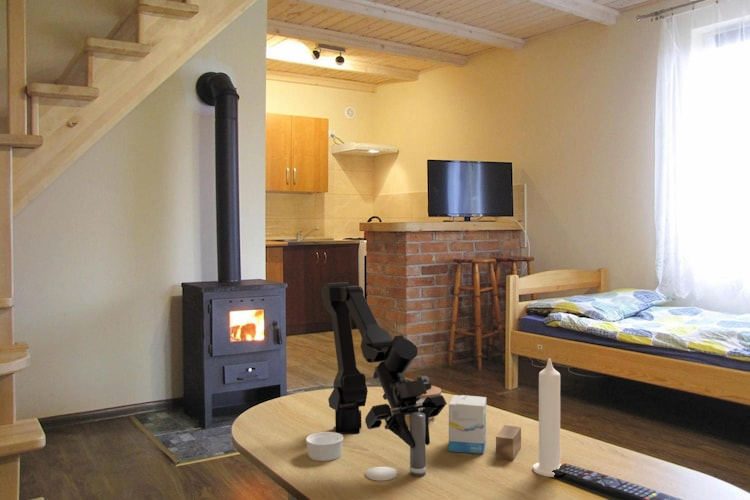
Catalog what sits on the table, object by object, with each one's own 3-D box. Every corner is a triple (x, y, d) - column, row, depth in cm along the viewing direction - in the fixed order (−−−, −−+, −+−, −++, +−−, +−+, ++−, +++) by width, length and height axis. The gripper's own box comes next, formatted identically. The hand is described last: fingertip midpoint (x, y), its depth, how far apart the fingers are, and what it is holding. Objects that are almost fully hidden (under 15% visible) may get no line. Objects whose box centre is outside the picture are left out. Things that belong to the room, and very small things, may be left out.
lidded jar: (447, 414, 180) (447, 382, 179) (430, 425, 170) (430, 390, 170) (415, 409, 185) (414, 377, 185) (396, 418, 176) (396, 385, 176)
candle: (566, 466, 141) (567, 355, 140) (565, 479, 134) (565, 362, 133) (534, 463, 143) (534, 354, 142) (531, 475, 136) (531, 360, 135)
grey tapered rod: (410, 476, 136) (410, 417, 135) (409, 470, 139) (408, 412, 139) (426, 476, 136) (426, 417, 135) (425, 470, 140) (424, 412, 139)
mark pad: (365, 481, 134) (365, 479, 134) (365, 468, 141) (365, 466, 141) (398, 480, 134) (398, 479, 134) (396, 467, 141) (396, 466, 141)
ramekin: (309, 464, 144) (309, 446, 144) (303, 451, 152) (303, 433, 152) (347, 460, 146) (347, 441, 146) (339, 447, 155) (338, 429, 155)
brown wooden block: (496, 457, 146) (495, 436, 146) (504, 445, 155) (504, 425, 154) (513, 460, 145) (513, 439, 144) (521, 447, 153) (521, 427, 153)
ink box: (483, 454, 149) (483, 406, 148) (448, 451, 151) (447, 403, 150) (487, 442, 157) (487, 396, 156) (453, 439, 159) (452, 394, 159)
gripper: (370, 369, 136) (398, 435, 126) (441, 359, 145) (471, 419, 136) (354, 397, 143) (378, 460, 134) (422, 385, 152) (450, 444, 143)
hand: (421, 445), depth 136 cm, fingers closed on grey tapered rod, 3 cm apart
